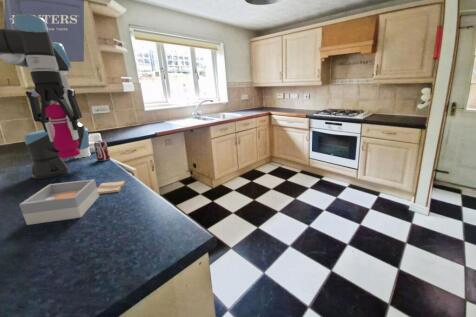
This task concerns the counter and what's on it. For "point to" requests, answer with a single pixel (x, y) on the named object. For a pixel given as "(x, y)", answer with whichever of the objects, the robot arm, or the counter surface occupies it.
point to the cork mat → (110, 187)
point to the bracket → (92, 139)
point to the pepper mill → (62, 131)
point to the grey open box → (60, 202)
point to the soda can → (101, 150)
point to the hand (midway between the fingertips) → (65, 139)
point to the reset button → (65, 195)
